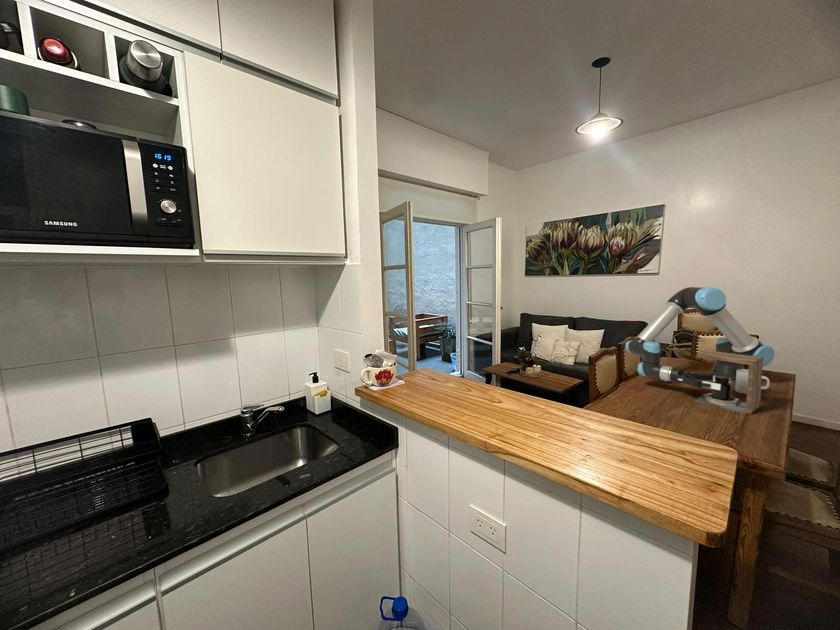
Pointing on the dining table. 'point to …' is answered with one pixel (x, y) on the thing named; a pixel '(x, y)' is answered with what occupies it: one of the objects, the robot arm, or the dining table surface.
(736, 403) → the awning stand
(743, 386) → the mug
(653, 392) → the dining table surface
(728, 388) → the supplement bottle
